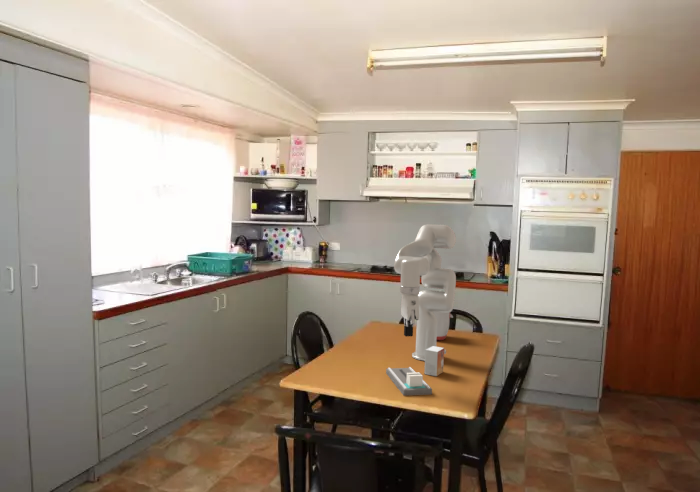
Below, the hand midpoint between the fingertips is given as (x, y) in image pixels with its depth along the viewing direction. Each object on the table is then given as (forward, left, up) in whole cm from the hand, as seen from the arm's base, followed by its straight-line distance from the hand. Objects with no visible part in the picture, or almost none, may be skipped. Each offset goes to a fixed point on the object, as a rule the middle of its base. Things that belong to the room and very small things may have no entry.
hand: (408, 335), depth 194 cm
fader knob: (0, +11, -16) cm, 19 cm away
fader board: (0, +2, -18) cm, 19 cm away
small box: (-15, -9, -19) cm, 25 cm away
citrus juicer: (-37, -65, -19) cm, 76 cm away
